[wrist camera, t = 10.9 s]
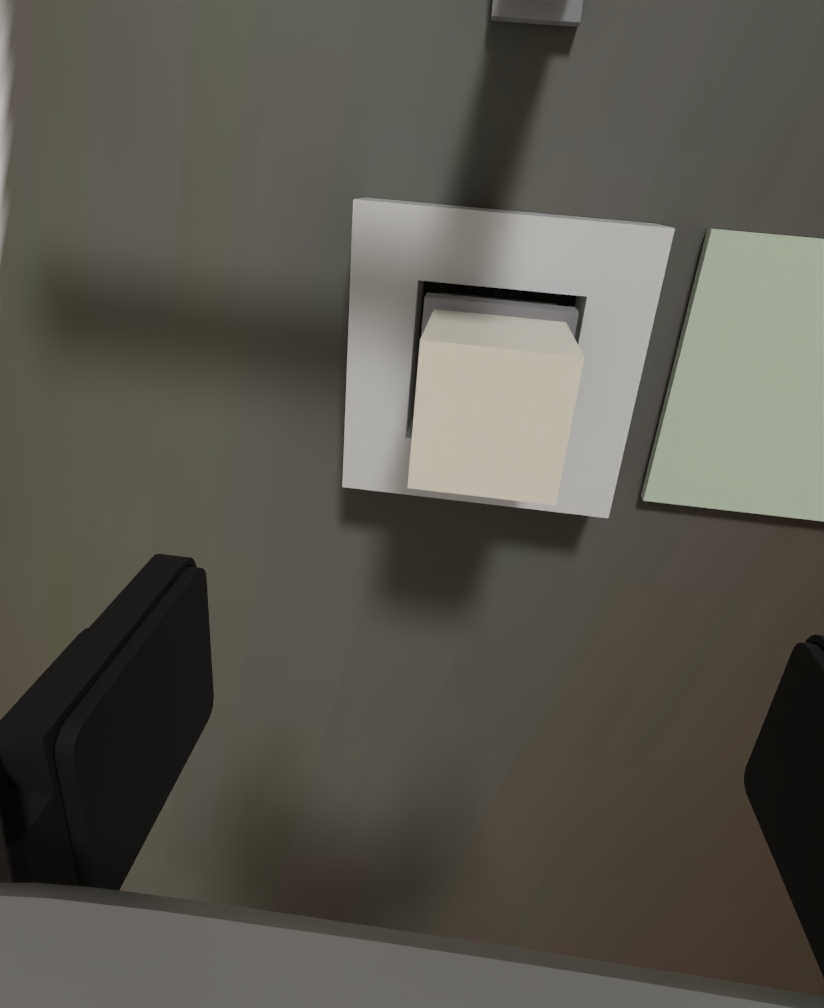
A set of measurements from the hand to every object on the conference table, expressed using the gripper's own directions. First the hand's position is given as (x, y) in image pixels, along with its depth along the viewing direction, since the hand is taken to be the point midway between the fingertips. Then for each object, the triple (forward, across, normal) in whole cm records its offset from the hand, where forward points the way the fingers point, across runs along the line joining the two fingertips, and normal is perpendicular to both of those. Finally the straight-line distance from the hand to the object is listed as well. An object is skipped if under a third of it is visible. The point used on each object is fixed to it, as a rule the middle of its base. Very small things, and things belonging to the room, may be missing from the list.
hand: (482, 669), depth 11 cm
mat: (+22, -14, 0) cm, 26 cm away
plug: (+22, 0, 0) cm, 22 cm away
